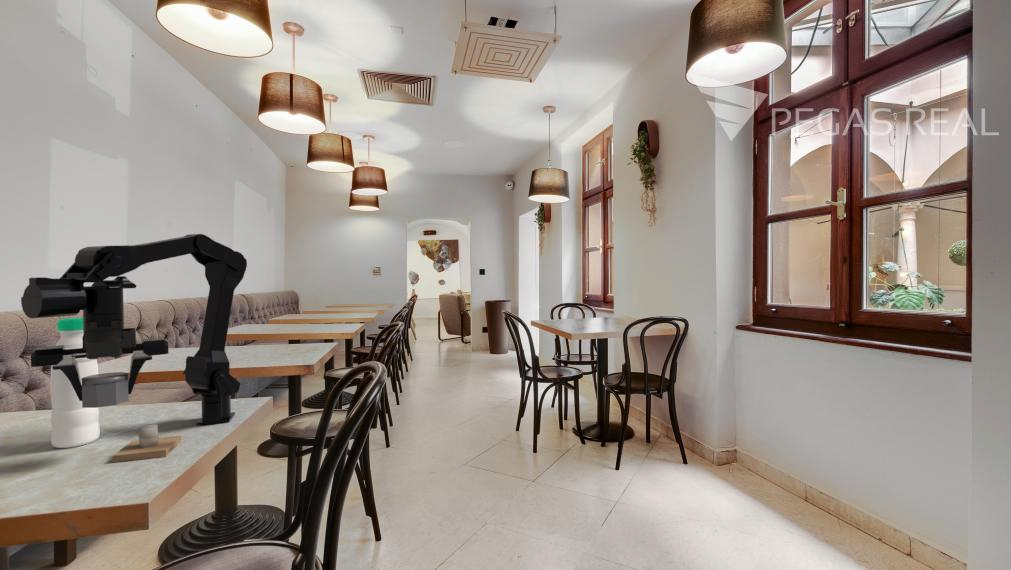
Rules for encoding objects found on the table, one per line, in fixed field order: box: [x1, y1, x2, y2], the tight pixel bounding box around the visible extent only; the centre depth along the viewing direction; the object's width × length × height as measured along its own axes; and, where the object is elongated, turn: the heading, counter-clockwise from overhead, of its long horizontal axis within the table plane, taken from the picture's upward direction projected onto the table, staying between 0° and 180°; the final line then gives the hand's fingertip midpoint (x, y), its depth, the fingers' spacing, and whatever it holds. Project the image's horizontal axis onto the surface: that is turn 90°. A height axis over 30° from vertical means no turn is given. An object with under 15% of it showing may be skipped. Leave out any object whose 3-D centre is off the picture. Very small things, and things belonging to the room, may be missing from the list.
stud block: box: [112, 424, 182, 463], centre depth 86 cm, size 8×8×5 cm
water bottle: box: [50, 317, 101, 449], centre depth 91 cm, size 7×7×25 cm
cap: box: [82, 371, 129, 408], centre depth 85 cm, size 6×6×5 cm
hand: (106, 397), depth 85 cm, fingers closed on cap, 6 cm apart
